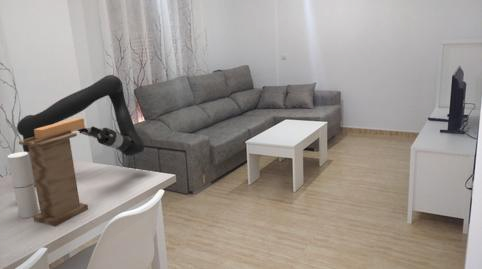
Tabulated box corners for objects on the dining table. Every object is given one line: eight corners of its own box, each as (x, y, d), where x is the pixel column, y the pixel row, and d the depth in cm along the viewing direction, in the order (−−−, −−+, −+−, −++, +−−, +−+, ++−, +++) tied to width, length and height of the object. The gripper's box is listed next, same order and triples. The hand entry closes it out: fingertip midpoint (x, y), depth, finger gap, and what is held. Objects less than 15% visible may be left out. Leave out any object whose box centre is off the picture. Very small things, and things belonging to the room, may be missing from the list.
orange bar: (35, 139, 151) (33, 129, 150) (77, 127, 169) (76, 117, 168) (43, 140, 150) (41, 130, 149) (84, 127, 167) (83, 118, 166)
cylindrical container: (25, 219, 160) (13, 158, 154) (15, 215, 164) (3, 156, 157) (42, 211, 166) (31, 153, 160) (32, 208, 170) (21, 151, 163)
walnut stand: (34, 221, 158) (18, 139, 150) (67, 204, 172) (54, 128, 163) (55, 226, 153) (40, 141, 144) (88, 209, 167) (76, 130, 158)
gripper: (100, 129, 187) (73, 118, 173) (124, 131, 181) (99, 120, 167) (96, 145, 186) (69, 135, 171) (120, 147, 180) (94, 138, 165)
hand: (83, 128), depth 169 cm, fingers open, 8 cm apart
